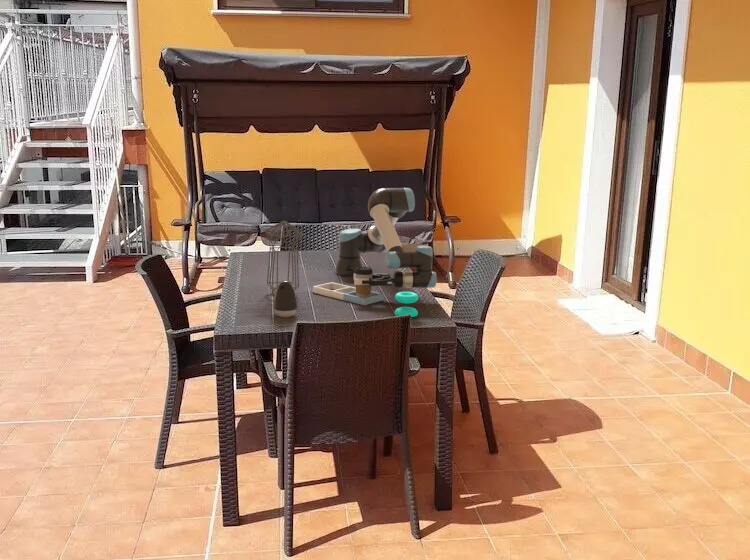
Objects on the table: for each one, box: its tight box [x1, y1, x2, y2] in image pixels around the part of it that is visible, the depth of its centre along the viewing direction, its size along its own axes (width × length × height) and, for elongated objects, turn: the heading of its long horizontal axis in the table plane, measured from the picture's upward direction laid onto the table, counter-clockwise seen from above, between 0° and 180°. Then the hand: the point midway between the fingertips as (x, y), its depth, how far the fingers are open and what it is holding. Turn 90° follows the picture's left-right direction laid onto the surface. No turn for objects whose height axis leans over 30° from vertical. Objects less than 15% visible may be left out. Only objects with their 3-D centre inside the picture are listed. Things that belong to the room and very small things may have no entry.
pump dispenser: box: [272, 280, 298, 318], centre depth 324 cm, size 10×10×15 cm
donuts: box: [394, 291, 420, 318], centre depth 329 cm, size 10×10×10 cm
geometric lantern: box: [263, 220, 305, 297], centre depth 358 cm, size 16×16×35 cm
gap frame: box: [312, 281, 384, 306], centre depth 361 cm, size 13×33×3 cm, turn 49°
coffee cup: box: [355, 266, 374, 298], centre depth 354 cm, size 8×8×15 cm
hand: (354, 279), depth 352 cm, fingers open, 9 cm apart
